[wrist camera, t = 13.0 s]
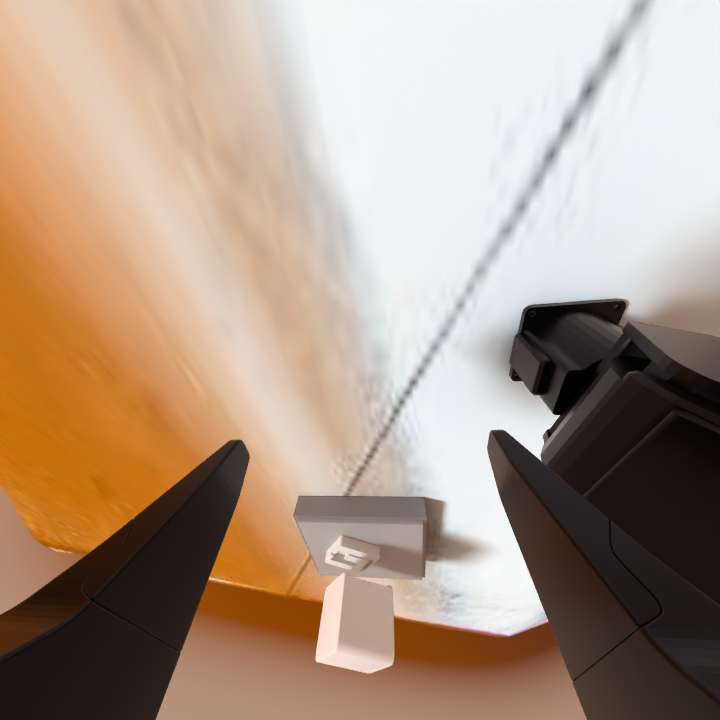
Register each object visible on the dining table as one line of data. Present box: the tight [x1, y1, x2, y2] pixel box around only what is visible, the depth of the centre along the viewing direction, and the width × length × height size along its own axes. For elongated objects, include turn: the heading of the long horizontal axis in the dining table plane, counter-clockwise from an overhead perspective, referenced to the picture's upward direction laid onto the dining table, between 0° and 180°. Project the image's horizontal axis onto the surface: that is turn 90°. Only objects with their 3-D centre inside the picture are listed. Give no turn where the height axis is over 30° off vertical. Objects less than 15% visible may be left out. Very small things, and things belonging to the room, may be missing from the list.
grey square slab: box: [293, 496, 427, 580], centre depth 37 cm, size 16×16×3 cm
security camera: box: [316, 535, 394, 674], centre depth 31 cm, size 6×7×10 cm
